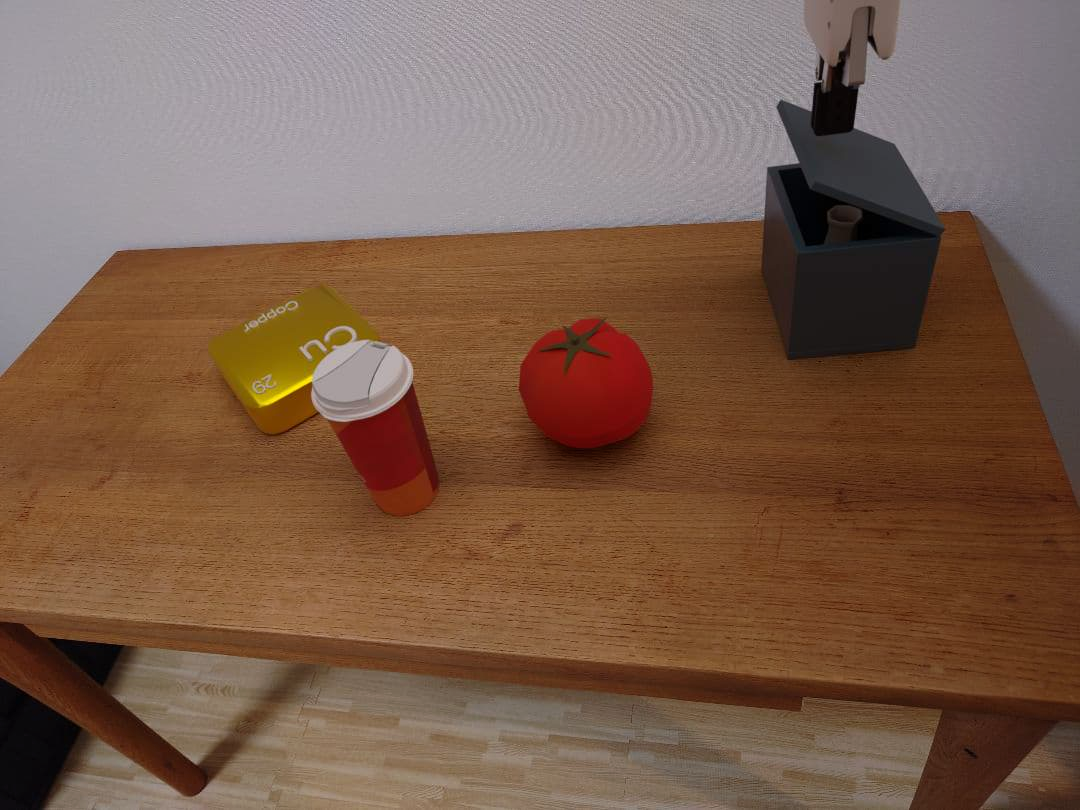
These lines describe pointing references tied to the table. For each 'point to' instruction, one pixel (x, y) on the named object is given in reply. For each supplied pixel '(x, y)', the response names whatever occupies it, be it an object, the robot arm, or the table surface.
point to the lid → (859, 171)
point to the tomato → (586, 384)
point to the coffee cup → (378, 423)
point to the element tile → (286, 354)
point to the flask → (843, 224)
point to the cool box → (841, 274)
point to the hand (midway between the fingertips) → (831, 129)
